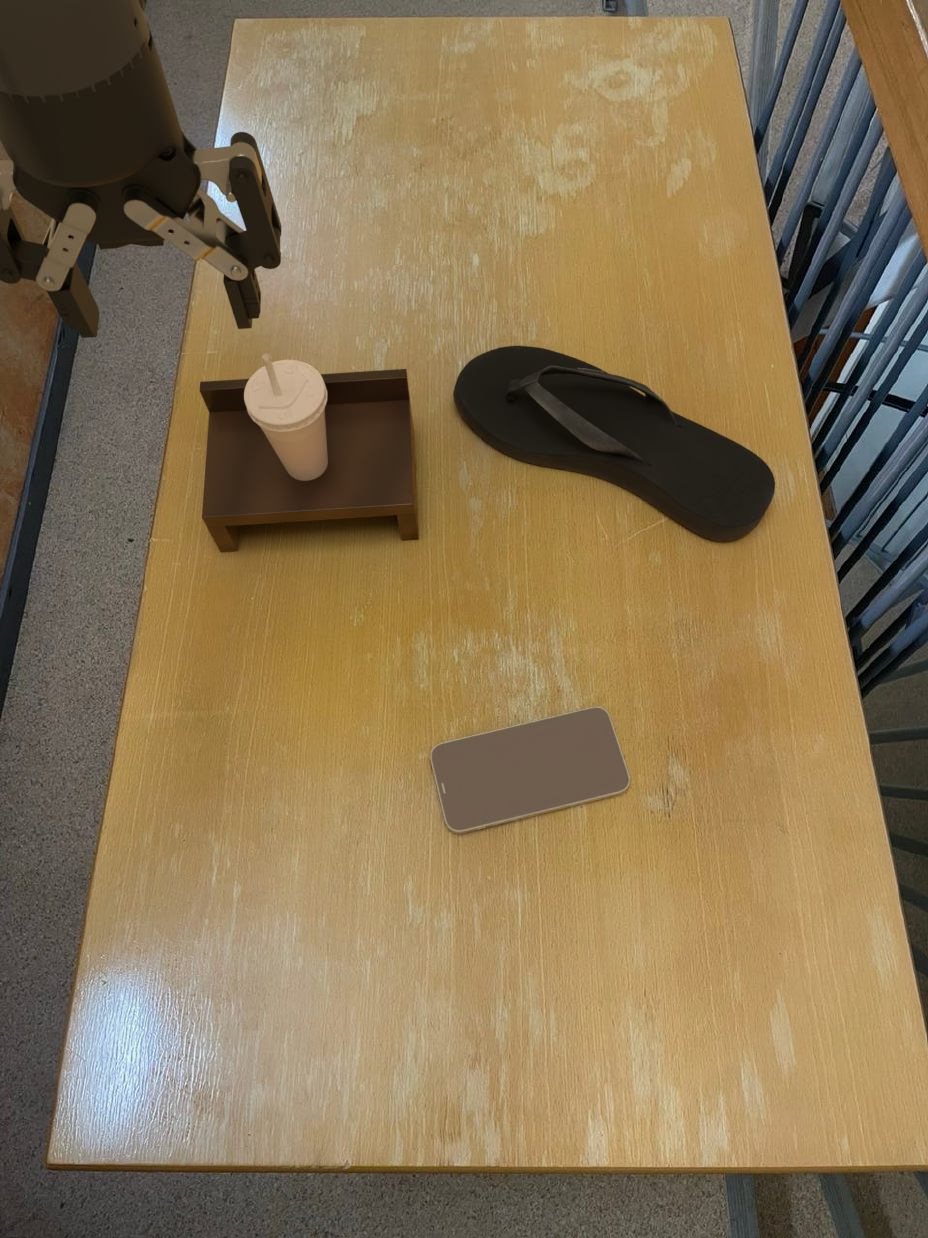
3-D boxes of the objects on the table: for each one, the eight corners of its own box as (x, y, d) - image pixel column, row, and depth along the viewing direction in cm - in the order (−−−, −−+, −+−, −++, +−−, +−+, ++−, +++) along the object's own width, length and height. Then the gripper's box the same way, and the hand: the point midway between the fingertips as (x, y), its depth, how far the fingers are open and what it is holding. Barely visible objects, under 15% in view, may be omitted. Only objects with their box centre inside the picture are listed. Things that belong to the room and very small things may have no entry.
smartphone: (634, 789, 72) (448, 835, 71) (632, 792, 73) (448, 838, 72) (605, 703, 75) (427, 745, 74) (604, 706, 76) (427, 748, 75)
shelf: (220, 552, 83) (190, 498, 75) (226, 442, 88) (199, 381, 80) (418, 539, 83) (411, 484, 75) (413, 431, 88) (406, 368, 80)
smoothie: (255, 459, 80) (211, 349, 67) (314, 420, 82) (282, 304, 69) (298, 507, 78) (261, 402, 65) (358, 465, 79) (333, 355, 67)
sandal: (747, 556, 82) (768, 517, 76) (432, 439, 88) (428, 394, 82) (788, 448, 86) (811, 403, 80) (487, 344, 92) (487, 295, 86)
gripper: (-152, 98, 35) (32, 382, 49) (226, 78, 35) (297, 366, 50) (-113, -21, 38) (49, 279, 53) (232, -38, 38) (297, 265, 53)
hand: (169, 321), depth 51 cm, fingers open, 8 cm apart
